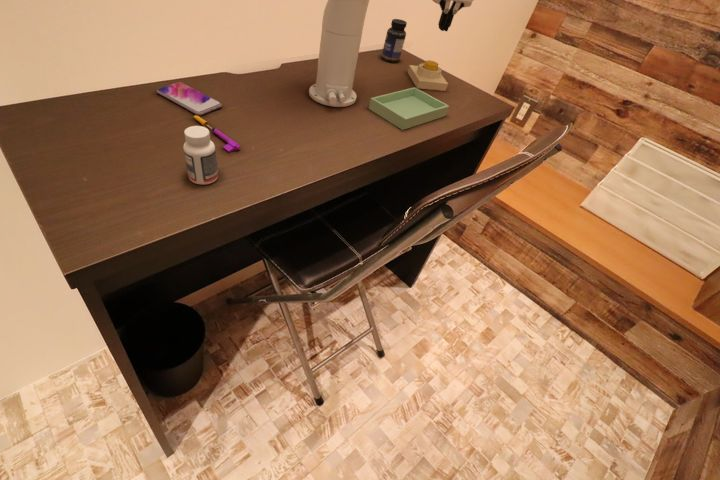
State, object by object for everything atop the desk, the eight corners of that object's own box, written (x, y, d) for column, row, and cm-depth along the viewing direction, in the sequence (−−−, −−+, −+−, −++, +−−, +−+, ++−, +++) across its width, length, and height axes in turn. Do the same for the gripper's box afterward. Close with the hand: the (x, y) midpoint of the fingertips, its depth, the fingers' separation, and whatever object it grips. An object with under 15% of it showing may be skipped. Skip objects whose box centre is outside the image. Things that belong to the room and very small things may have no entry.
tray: (411, 97, 102) (414, 87, 100) (445, 116, 96) (449, 105, 94) (368, 108, 94) (370, 97, 92) (402, 130, 88) (405, 119, 86)
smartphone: (198, 113, 80) (155, 89, 85) (199, 117, 80) (155, 93, 85) (223, 103, 84) (180, 81, 89) (223, 107, 85) (181, 84, 90)
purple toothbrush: (242, 149, 73) (197, 117, 80) (240, 144, 72) (195, 112, 79) (231, 155, 73) (187, 122, 79) (229, 150, 72) (185, 118, 78)
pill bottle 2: (377, 56, 122) (386, 17, 113) (392, 55, 124) (402, 18, 116) (387, 63, 118) (396, 24, 110) (402, 62, 120) (413, 24, 112)
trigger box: (445, 91, 108) (450, 77, 105) (416, 88, 107) (421, 74, 104) (434, 75, 116) (438, 61, 113) (407, 72, 115) (411, 58, 112)
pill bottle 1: (220, 170, 68) (216, 125, 62) (215, 186, 65) (210, 141, 58) (191, 167, 68) (184, 122, 61) (185, 184, 64) (176, 137, 58)
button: (438, 72, 108) (440, 66, 107) (425, 71, 107) (427, 64, 106) (434, 67, 111) (436, 61, 109) (421, 65, 110) (423, 59, 109)
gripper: (446, -60, 84) (420, 31, 98) (505, -51, 86) (472, 36, 100) (437, -64, 89) (414, 22, 103) (493, -56, 91) (463, 28, 105)
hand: (442, 29), depth 101 cm, fingers closed
